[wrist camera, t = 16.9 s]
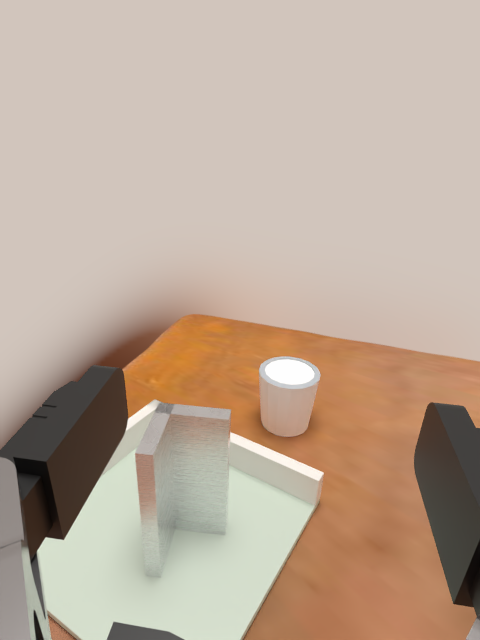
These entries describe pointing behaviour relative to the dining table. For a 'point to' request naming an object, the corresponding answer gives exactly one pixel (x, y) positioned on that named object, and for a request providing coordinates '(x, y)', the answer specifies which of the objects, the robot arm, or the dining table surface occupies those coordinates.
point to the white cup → (287, 394)
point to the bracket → (182, 477)
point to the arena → (178, 549)
